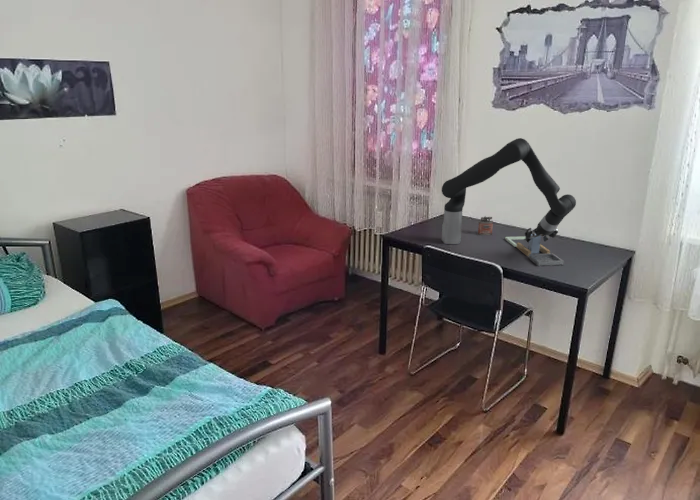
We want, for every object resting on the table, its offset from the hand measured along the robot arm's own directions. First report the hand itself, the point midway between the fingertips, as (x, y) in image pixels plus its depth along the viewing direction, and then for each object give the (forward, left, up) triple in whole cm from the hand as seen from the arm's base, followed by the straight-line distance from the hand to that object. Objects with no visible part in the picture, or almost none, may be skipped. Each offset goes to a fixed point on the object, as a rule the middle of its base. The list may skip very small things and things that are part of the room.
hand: (535, 240), depth 252 cm
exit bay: (0, +16, -7) cm, 18 cm away
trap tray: (0, -13, -7) cm, 14 cm away
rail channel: (0, +2, -7) cm, 7 cm away
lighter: (-14, +33, -7) cm, 37 cm away
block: (0, +1, -7) cm, 7 cm away
